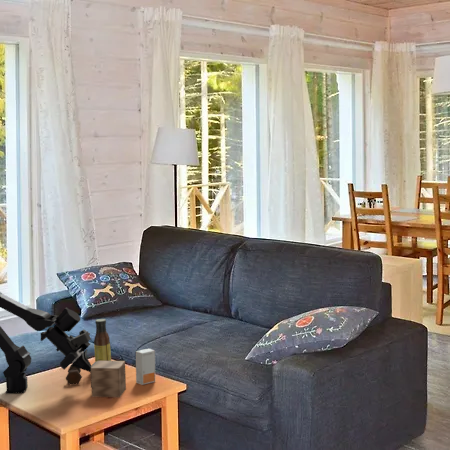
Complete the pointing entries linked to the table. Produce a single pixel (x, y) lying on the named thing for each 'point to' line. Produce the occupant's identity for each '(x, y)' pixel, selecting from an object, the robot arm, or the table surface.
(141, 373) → the skincare box
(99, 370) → the housing
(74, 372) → the bolt
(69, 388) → the table surface
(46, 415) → the table surface
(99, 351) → the sauce bottle
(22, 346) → the robot arm
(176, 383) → the table surface
